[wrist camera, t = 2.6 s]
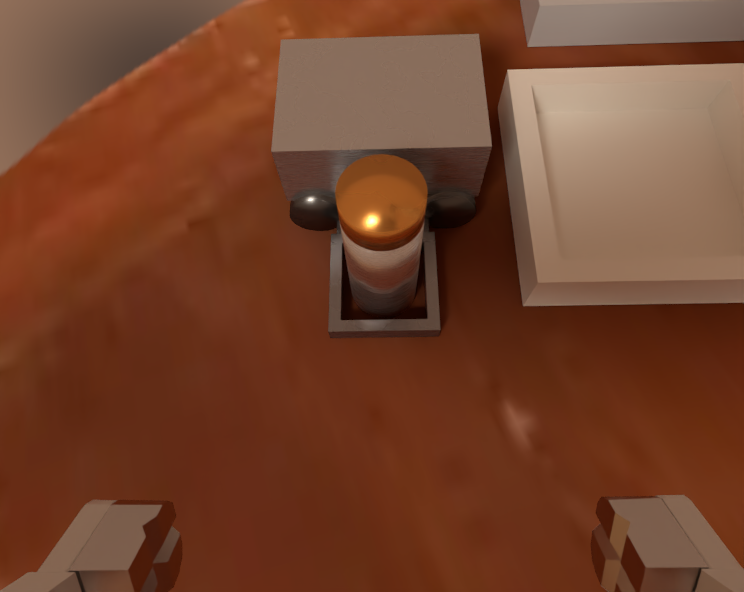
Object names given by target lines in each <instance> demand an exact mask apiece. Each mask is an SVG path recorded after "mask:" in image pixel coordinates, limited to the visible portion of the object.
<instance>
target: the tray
mask: <svg viewBox="0 0 744 592" xmlns="http://www.w3.org/2000/svg"><path fill="white" fill-rule="evenodd" d="M497 108H498V116H499V124H500V132H501V139H502V147H503V155H504V163H505V171H506V179H507V186H508V194H509V202H510V210H511V218H512V226H513V233H514V241H515V249H516V257H517V265H518V272H519V280H520V288H521V296H522V304H523V306H565V305H628V304H691V303H744V63H734V64H698V65H662V66H626V67H590V68H554V69H518V70H507V74H506V77H505V81H504V85H503V89H502V92H501V96H500V100H499V104H498V107H497Z"/></svg>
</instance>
